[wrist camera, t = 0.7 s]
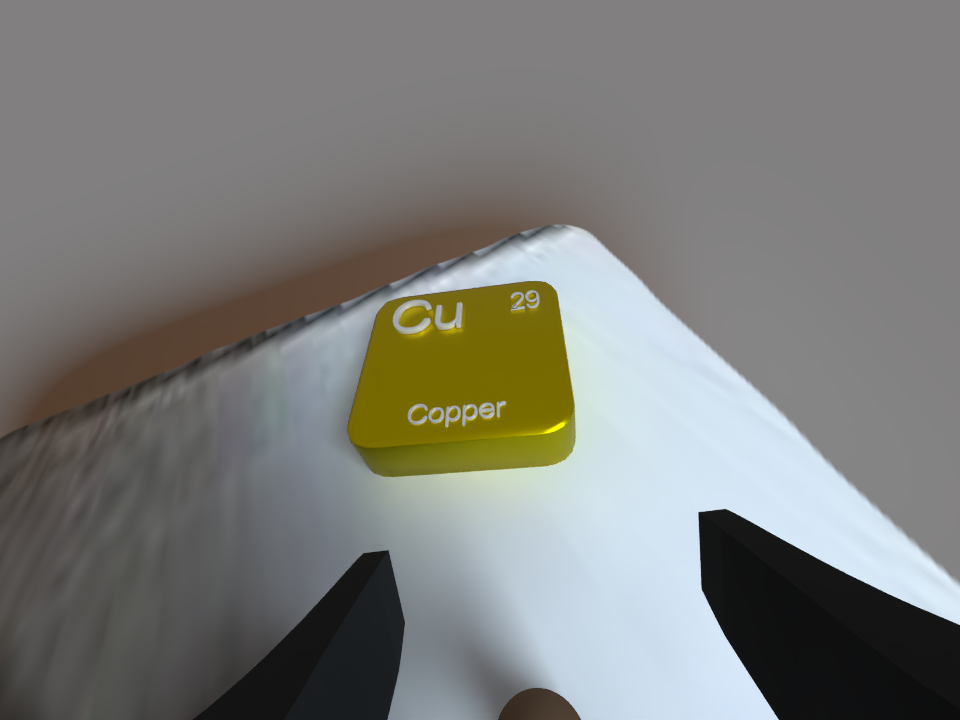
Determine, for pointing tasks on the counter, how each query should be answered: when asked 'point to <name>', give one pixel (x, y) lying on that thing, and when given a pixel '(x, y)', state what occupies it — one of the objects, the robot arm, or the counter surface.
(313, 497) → the counter surface
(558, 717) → the peg
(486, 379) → the element tile
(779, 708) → the robot arm
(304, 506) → the counter surface
